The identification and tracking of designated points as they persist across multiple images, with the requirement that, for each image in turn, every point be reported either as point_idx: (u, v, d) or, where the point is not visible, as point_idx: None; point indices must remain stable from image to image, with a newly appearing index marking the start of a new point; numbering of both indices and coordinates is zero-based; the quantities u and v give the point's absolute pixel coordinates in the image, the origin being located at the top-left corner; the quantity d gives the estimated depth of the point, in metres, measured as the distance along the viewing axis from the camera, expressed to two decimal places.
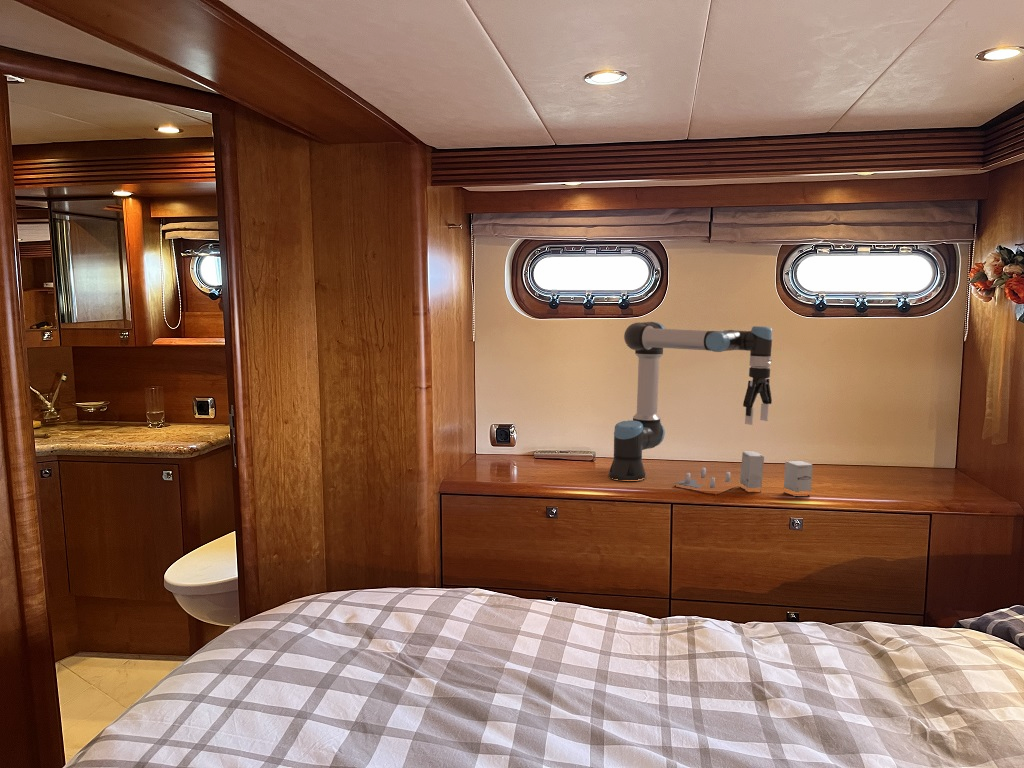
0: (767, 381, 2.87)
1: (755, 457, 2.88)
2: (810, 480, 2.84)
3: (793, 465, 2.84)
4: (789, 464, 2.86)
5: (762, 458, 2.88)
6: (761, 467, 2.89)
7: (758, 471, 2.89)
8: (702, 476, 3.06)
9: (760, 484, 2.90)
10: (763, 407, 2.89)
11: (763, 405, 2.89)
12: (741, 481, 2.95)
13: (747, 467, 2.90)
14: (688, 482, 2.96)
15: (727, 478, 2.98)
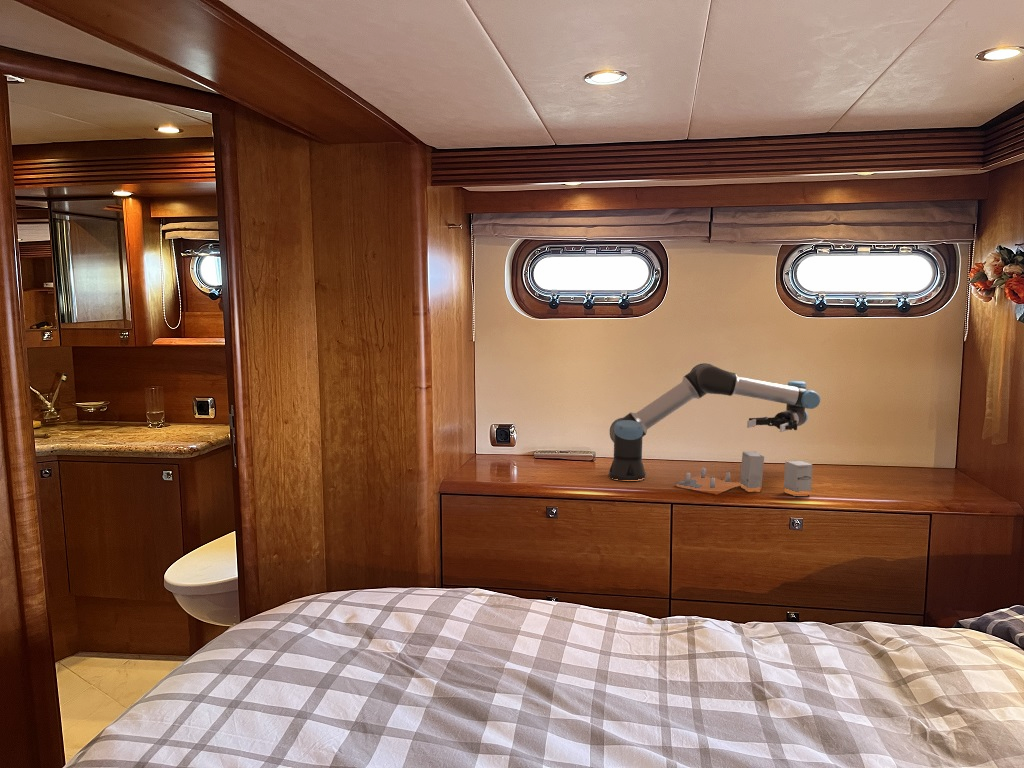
0: None
1: (755, 457, 2.88)
2: (810, 480, 2.84)
3: (793, 465, 2.84)
4: (789, 464, 2.86)
5: (762, 458, 2.88)
6: (761, 467, 2.89)
7: (758, 471, 2.89)
8: (702, 476, 3.06)
9: (760, 484, 2.90)
10: (754, 422, 3.06)
11: (755, 421, 3.06)
12: (741, 481, 2.95)
13: (747, 467, 2.90)
14: (688, 482, 2.96)
15: (727, 478, 2.98)
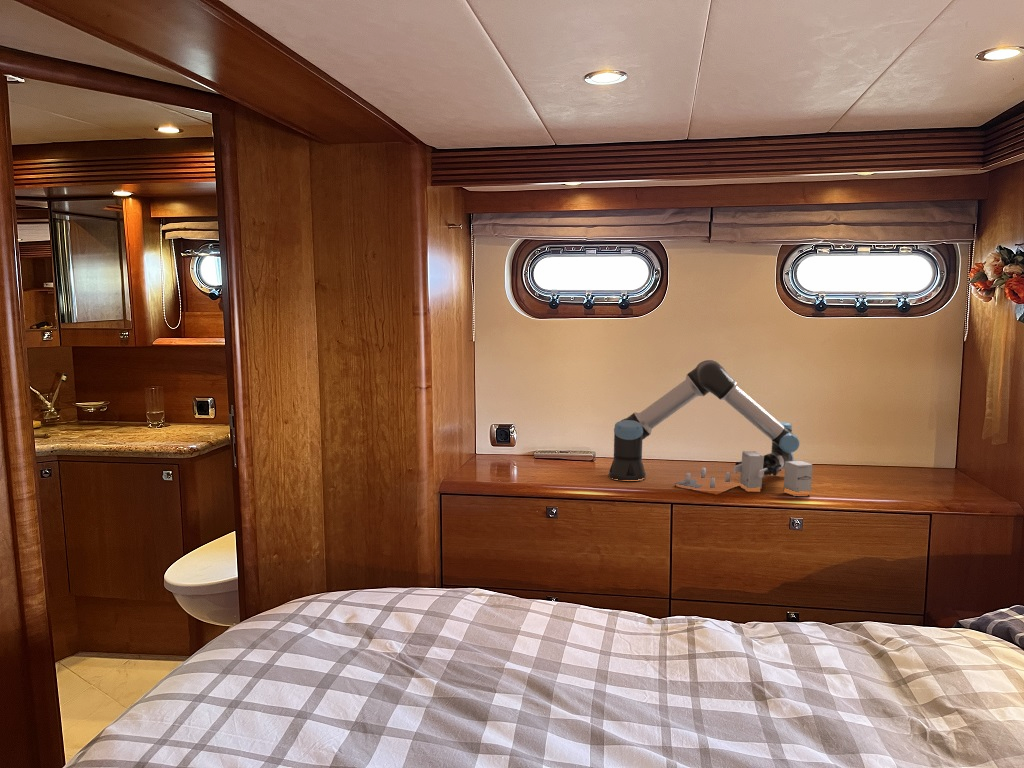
0: None
1: (755, 457, 2.88)
2: (810, 480, 2.84)
3: (793, 465, 2.84)
4: (789, 464, 2.86)
5: (762, 458, 2.88)
6: (761, 467, 2.89)
7: (758, 471, 2.89)
8: (702, 476, 3.06)
9: (760, 484, 2.90)
10: None
11: None
12: (741, 481, 2.95)
13: (747, 467, 2.90)
14: (688, 482, 2.96)
15: (727, 478, 2.98)
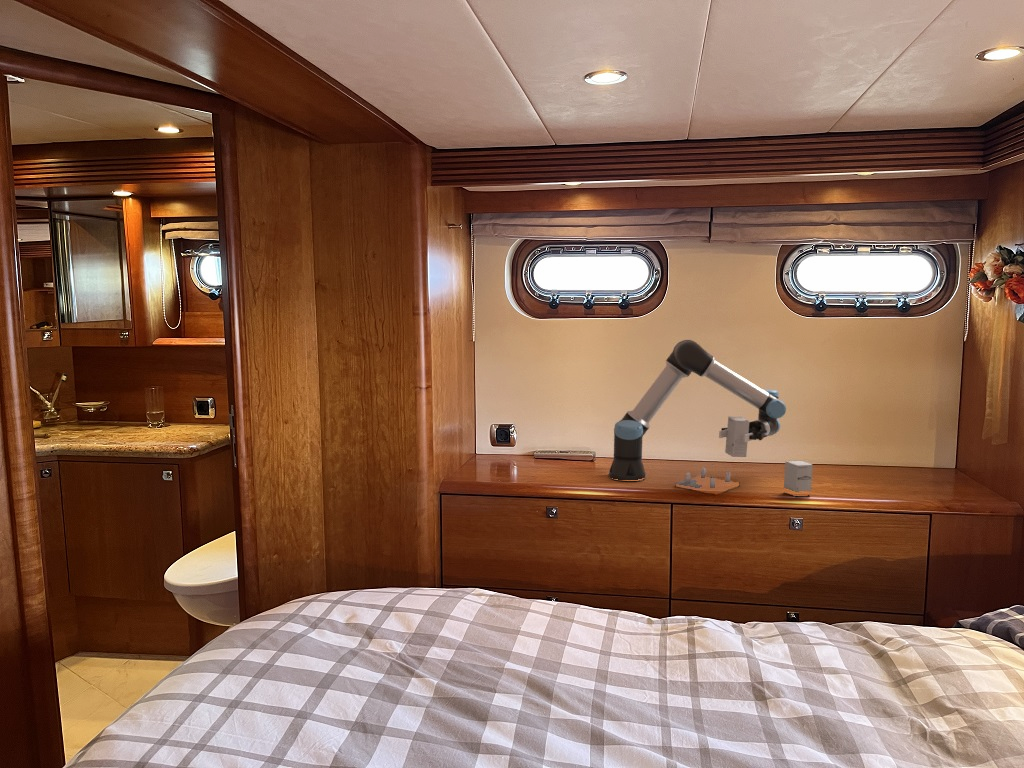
0: None
1: (740, 421, 2.88)
2: (810, 480, 2.84)
3: (793, 465, 2.84)
4: (789, 464, 2.86)
5: (747, 422, 2.89)
6: (746, 431, 2.89)
7: (743, 435, 2.89)
8: (702, 476, 3.06)
9: (745, 449, 2.90)
10: (726, 432, 2.97)
11: None
12: (727, 446, 2.96)
13: (732, 432, 2.91)
14: (688, 482, 2.96)
15: (727, 478, 2.98)
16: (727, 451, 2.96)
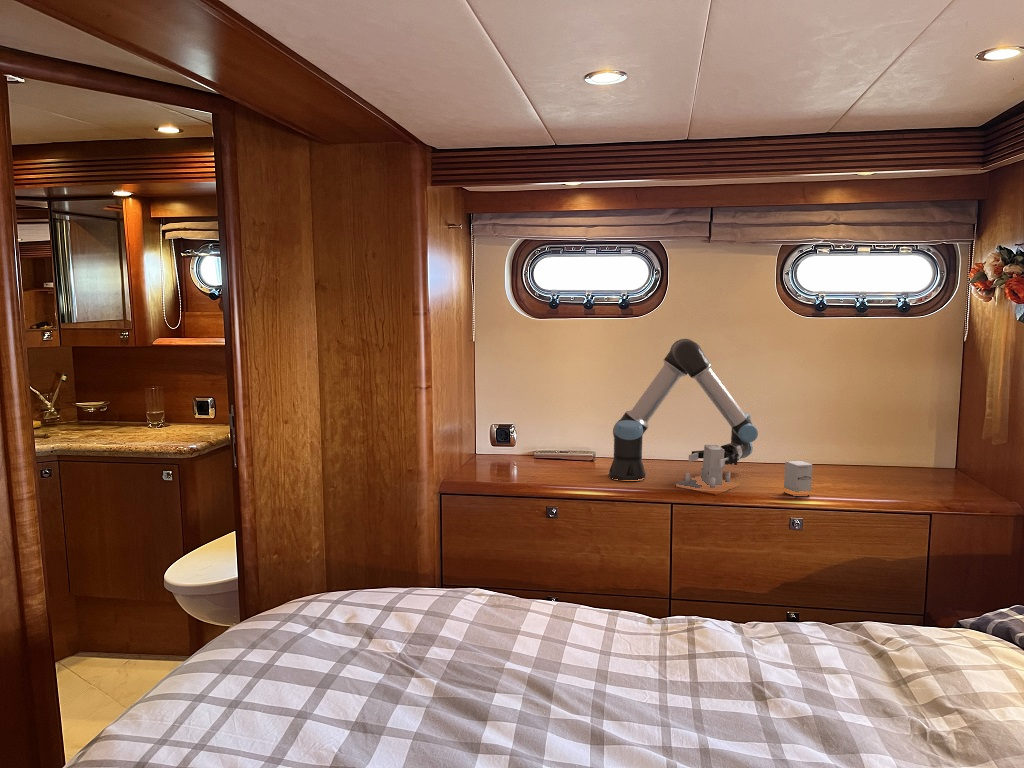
0: None
1: (715, 450, 2.92)
2: (810, 480, 2.84)
3: (793, 465, 2.84)
4: (789, 464, 2.86)
5: (722, 451, 2.92)
6: None
7: (718, 464, 2.93)
8: None
9: (721, 477, 2.94)
10: (696, 455, 3.03)
11: (697, 455, 3.03)
12: (703, 474, 3.00)
13: (708, 460, 2.95)
14: (688, 482, 2.96)
15: (727, 478, 2.98)
16: (703, 479, 3.00)
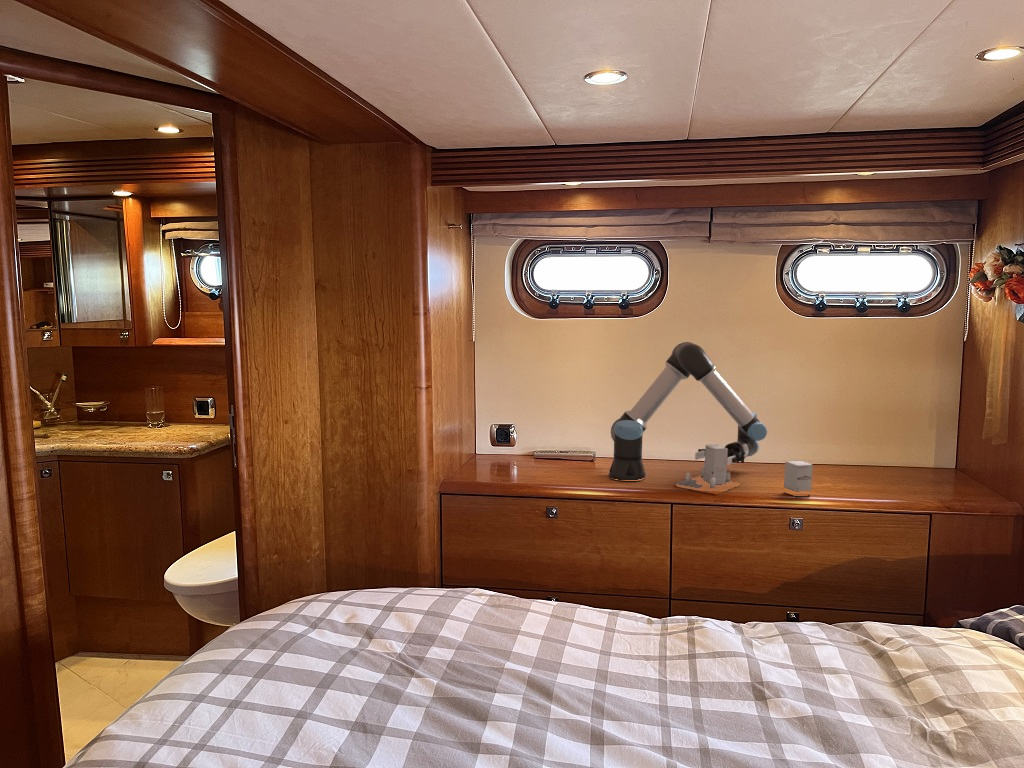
0: None
1: (719, 449, 2.93)
2: (810, 480, 2.84)
3: (793, 465, 2.84)
4: (789, 464, 2.86)
5: (726, 450, 2.93)
6: (725, 459, 2.94)
7: (722, 463, 2.93)
8: (702, 476, 3.06)
9: (724, 476, 2.94)
10: (702, 453, 3.06)
11: (704, 453, 3.06)
12: (705, 474, 2.99)
13: (711, 460, 2.94)
14: (688, 482, 2.96)
15: (727, 478, 2.98)
16: (706, 479, 2.99)
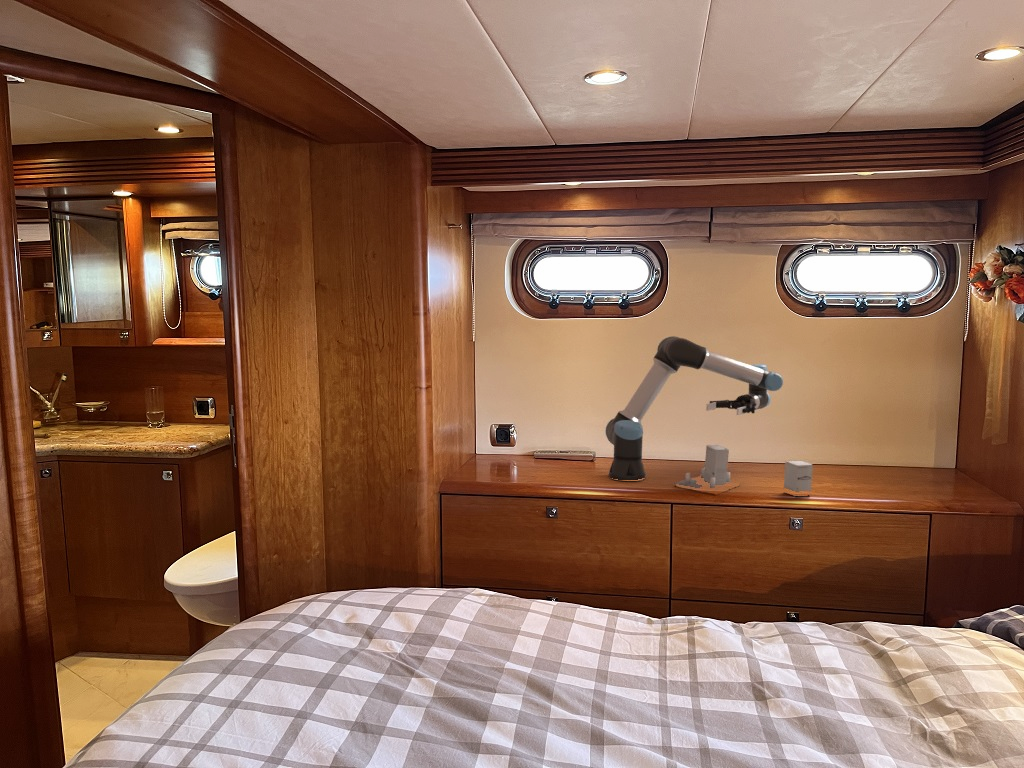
0: None
1: (720, 450, 2.92)
2: (810, 480, 2.84)
3: (793, 465, 2.84)
4: (789, 464, 2.86)
5: (727, 451, 2.93)
6: (726, 460, 2.93)
7: (723, 464, 2.93)
8: (702, 476, 3.06)
9: (725, 477, 2.94)
10: (714, 405, 3.12)
11: (715, 404, 3.12)
12: (706, 474, 2.99)
13: (712, 461, 2.94)
14: (688, 482, 2.96)
15: (727, 478, 2.98)
16: (706, 479, 2.99)
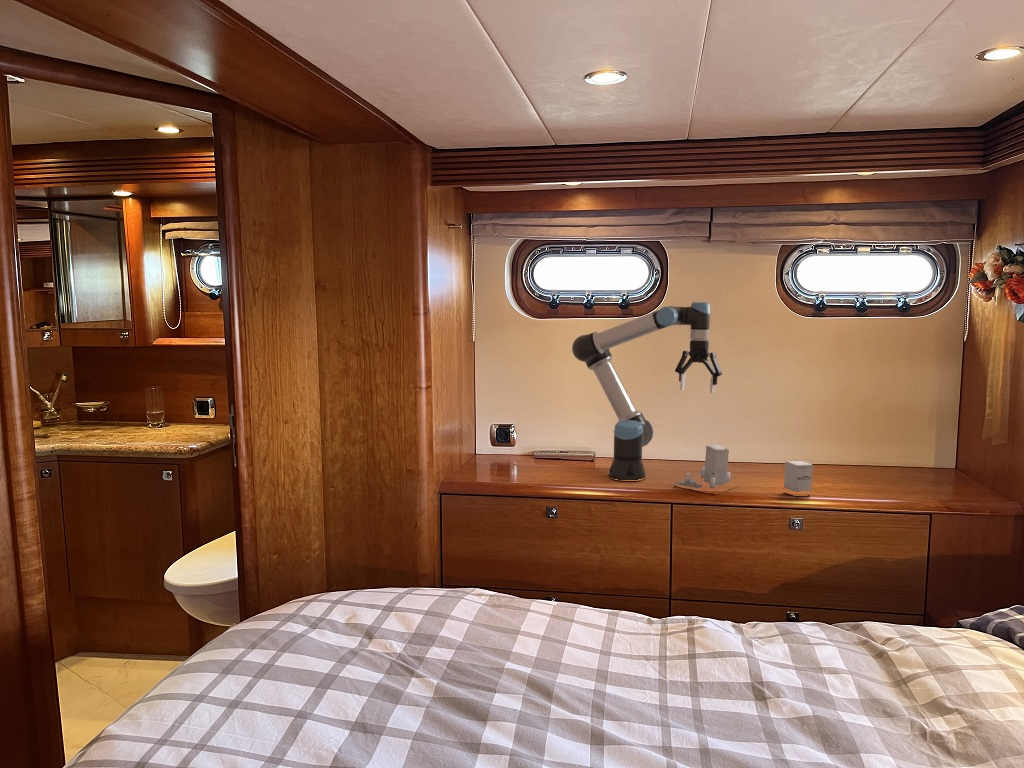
0: None
1: (720, 450, 2.92)
2: (810, 480, 2.84)
3: (793, 465, 2.84)
4: (789, 464, 2.86)
5: (727, 451, 2.93)
6: (726, 460, 2.93)
7: (723, 464, 2.93)
8: (702, 476, 3.06)
9: (725, 477, 2.94)
10: (683, 378, 3.12)
11: (683, 375, 3.12)
12: (706, 474, 2.99)
13: (712, 461, 2.94)
14: (688, 482, 2.96)
15: (727, 478, 2.98)
16: (706, 479, 2.99)
